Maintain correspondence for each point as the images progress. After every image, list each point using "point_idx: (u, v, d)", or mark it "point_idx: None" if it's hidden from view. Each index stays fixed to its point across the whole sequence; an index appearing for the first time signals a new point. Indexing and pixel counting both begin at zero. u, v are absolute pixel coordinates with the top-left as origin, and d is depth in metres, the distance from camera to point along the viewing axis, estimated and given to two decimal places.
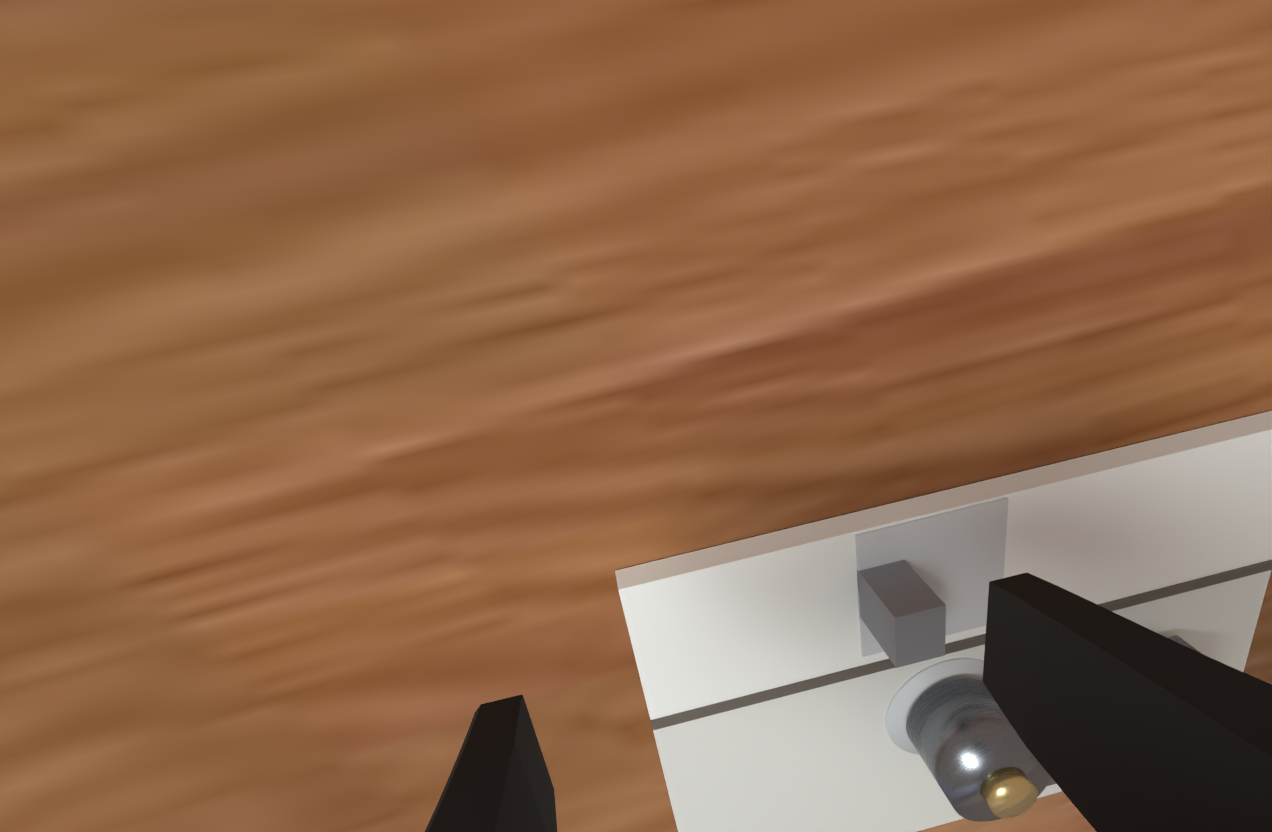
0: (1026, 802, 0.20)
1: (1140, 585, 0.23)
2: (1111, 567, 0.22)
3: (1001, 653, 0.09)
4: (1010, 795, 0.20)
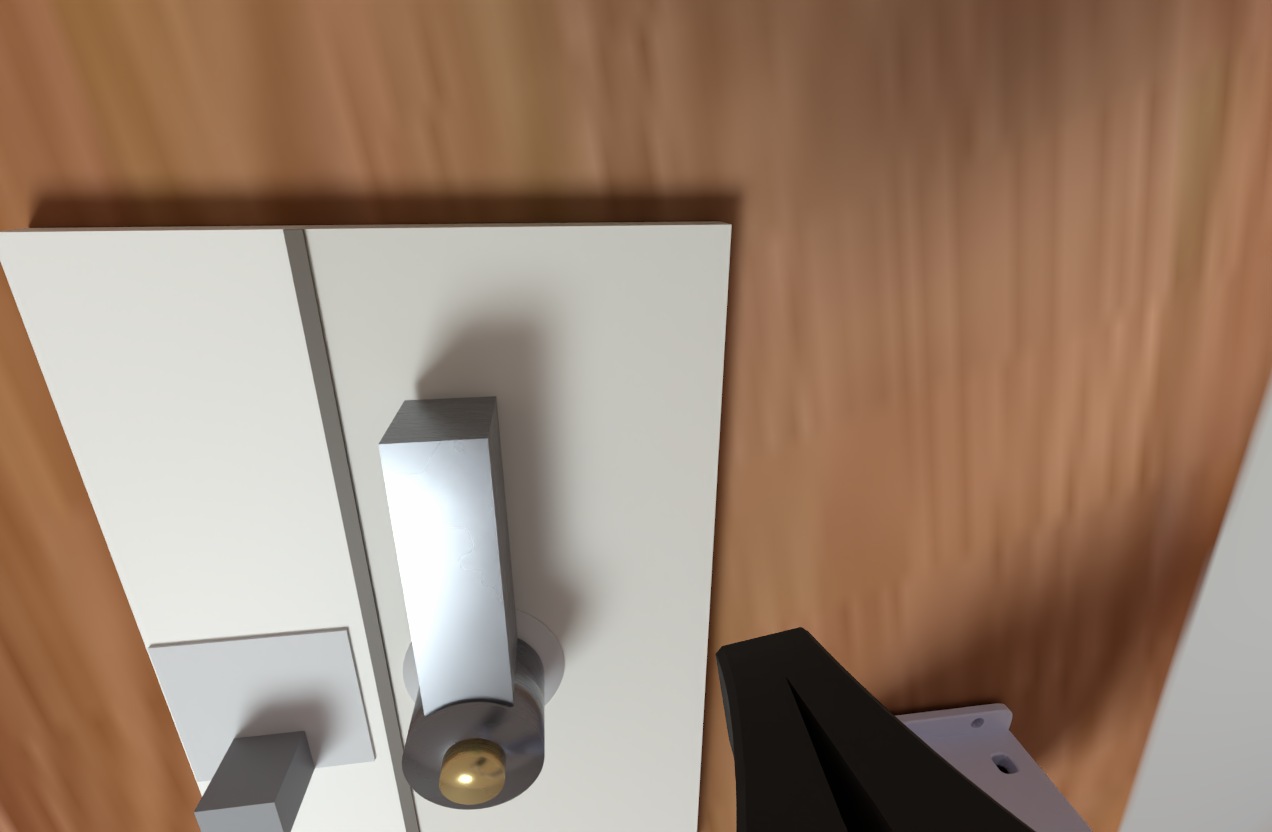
0: (479, 769, 0.15)
1: (314, 453, 0.16)
2: (274, 502, 0.16)
3: None
4: (457, 789, 0.15)
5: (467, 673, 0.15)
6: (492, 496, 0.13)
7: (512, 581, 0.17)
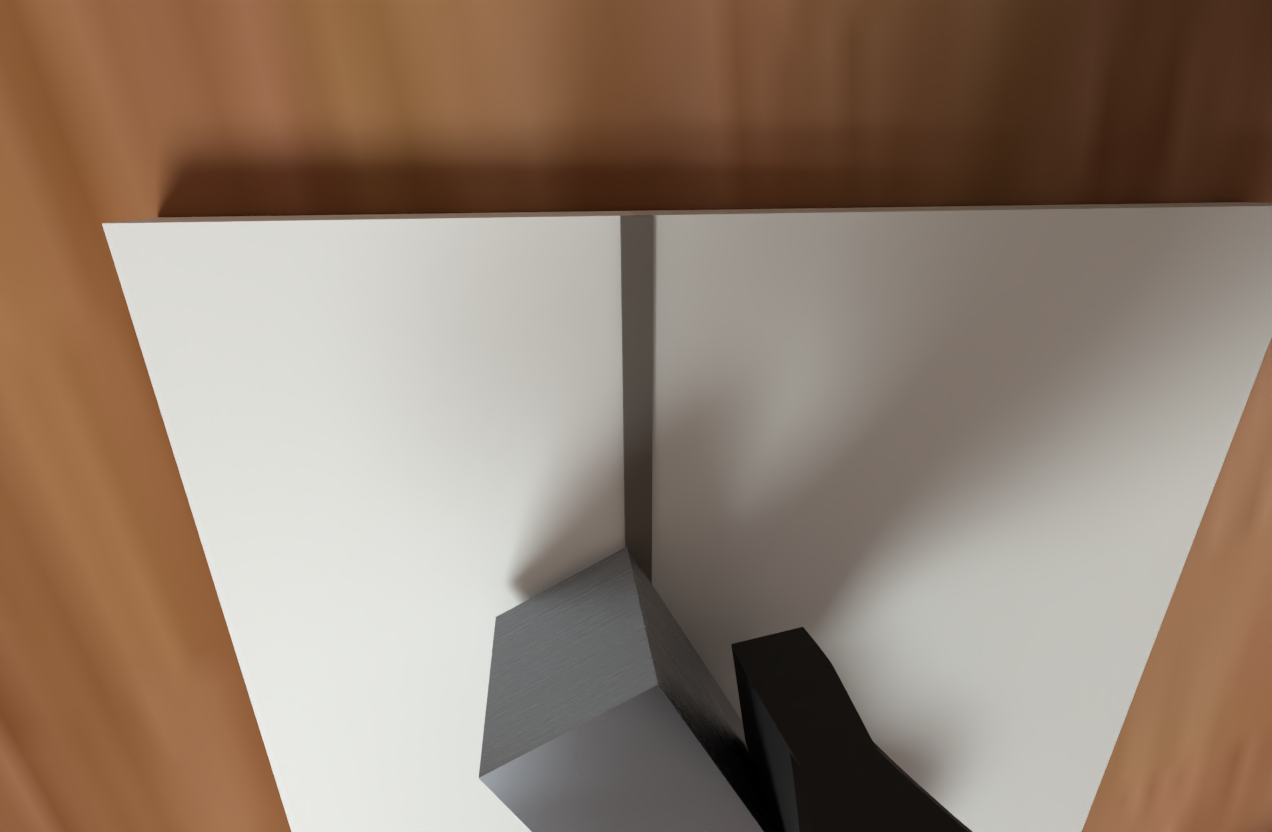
0: None
1: None
2: None
3: (746, 717, 0.09)
4: None
5: None
6: (711, 762, 0.07)
7: None
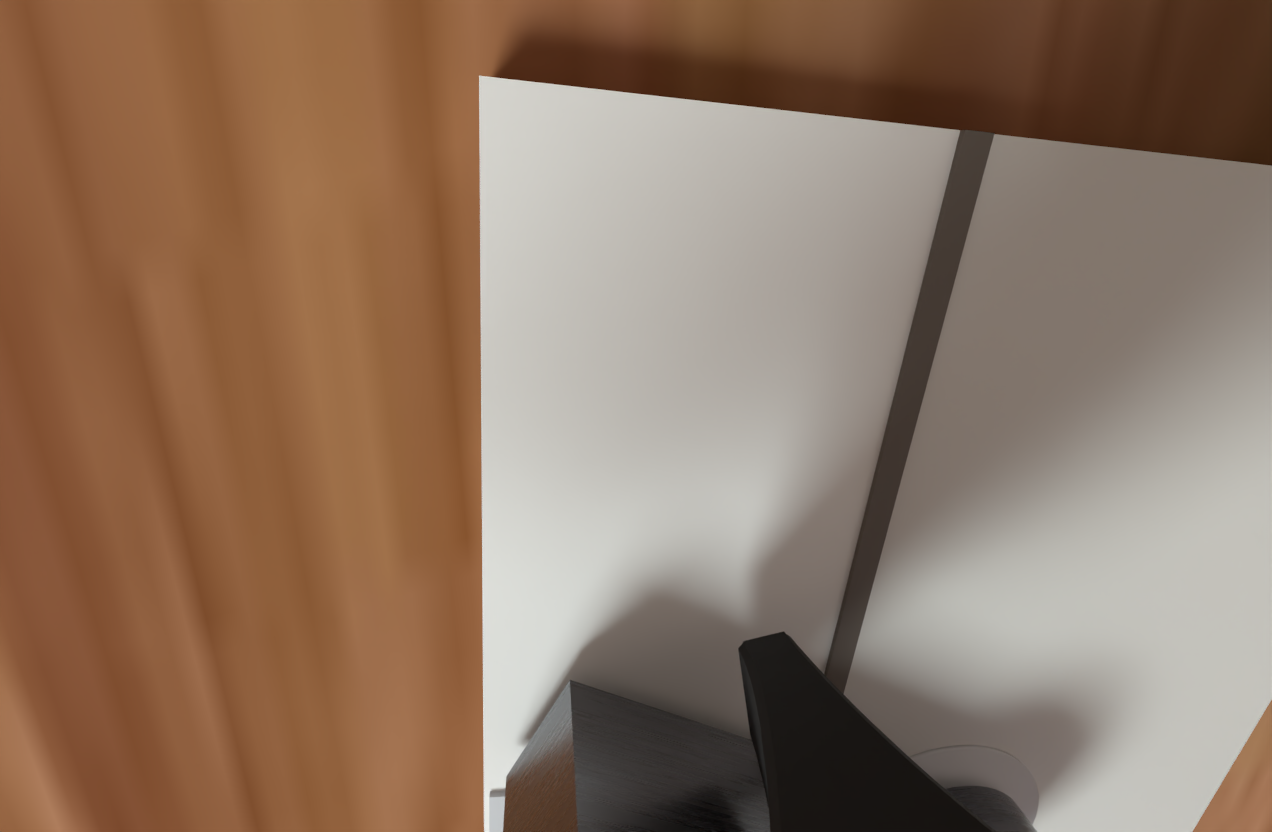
0: None
1: (842, 514, 0.10)
2: (753, 586, 0.10)
3: None
4: None
5: None
6: None
7: None
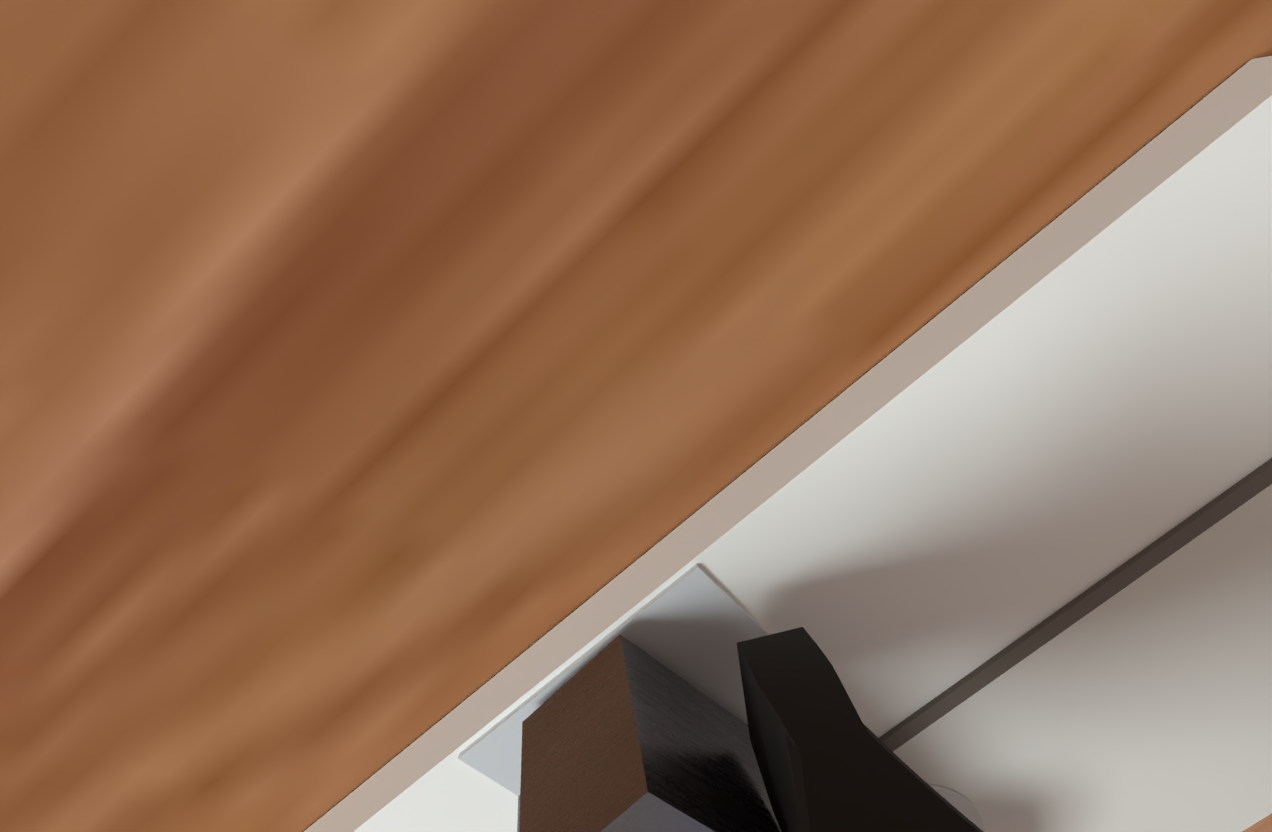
0: None
1: (1121, 547, 0.11)
2: (1030, 552, 0.11)
3: (751, 716, 0.09)
4: None
5: None
6: None
7: None
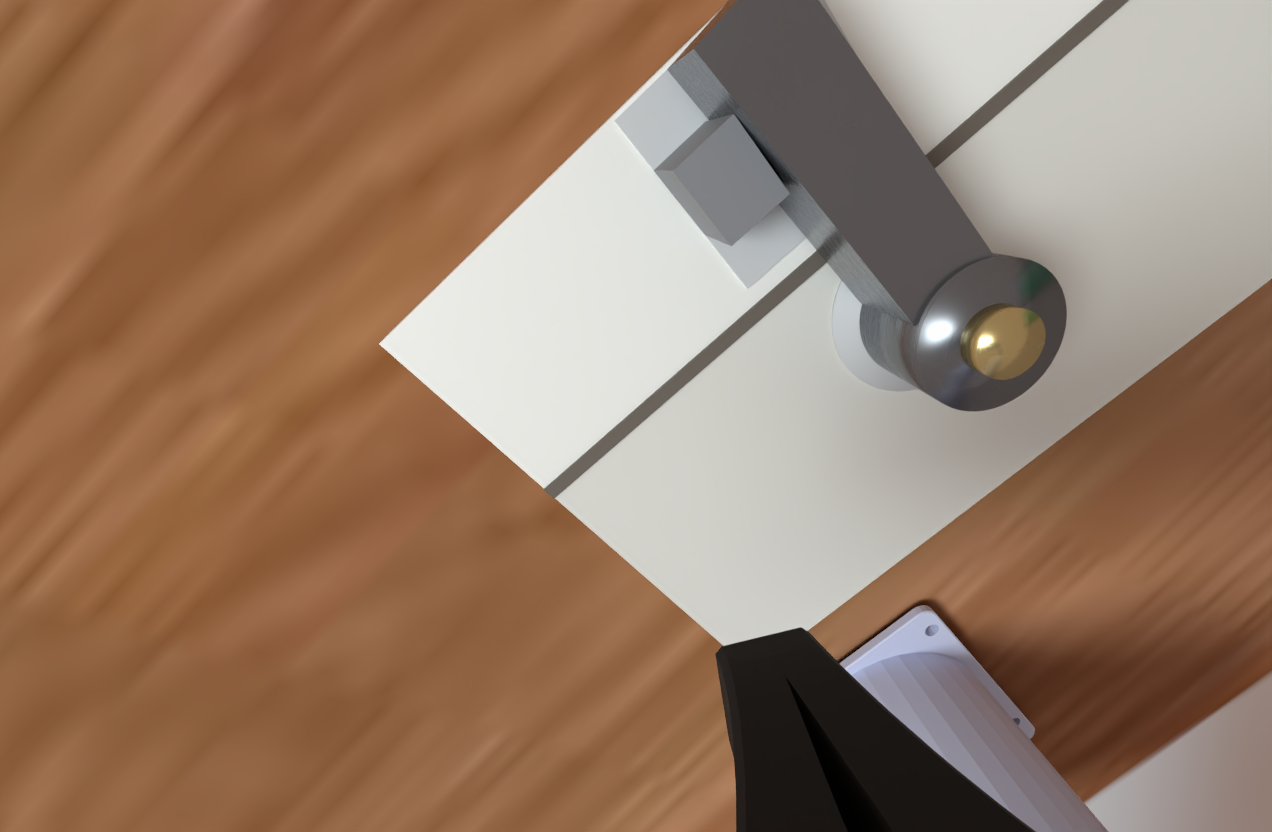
0: (1010, 325, 0.13)
1: None
2: None
3: None
4: (1002, 362, 0.14)
5: (926, 248, 0.13)
6: (829, 17, 0.11)
7: None
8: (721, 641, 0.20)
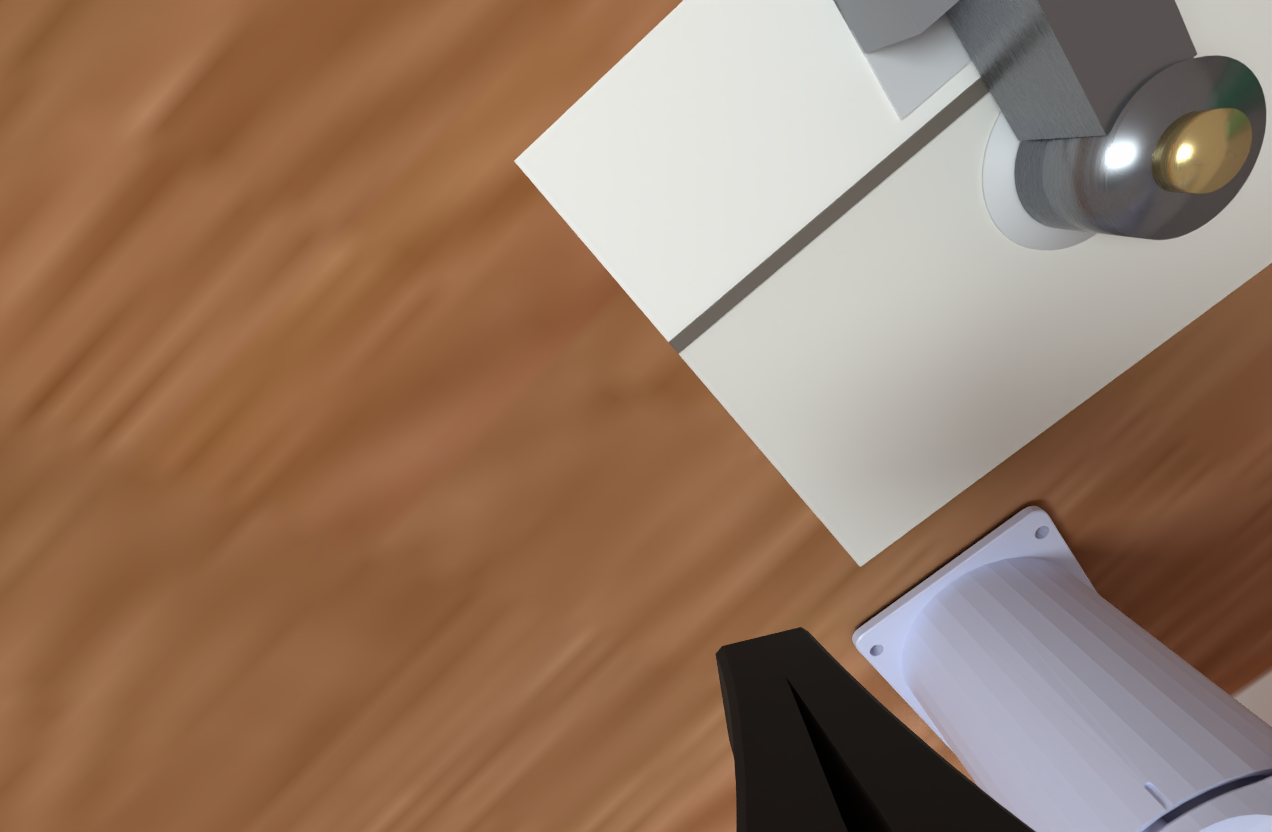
0: (1218, 127, 0.12)
1: None
2: None
3: None
4: (1203, 172, 0.13)
5: (1130, 41, 0.12)
6: None
7: None
8: (831, 530, 0.19)
